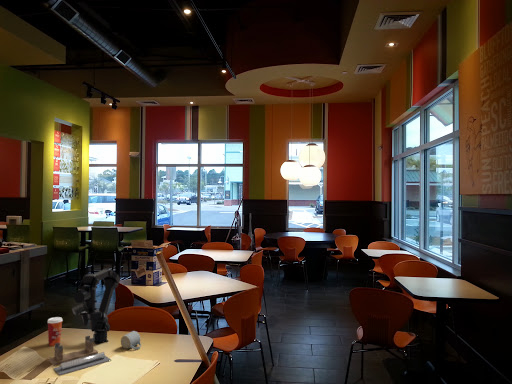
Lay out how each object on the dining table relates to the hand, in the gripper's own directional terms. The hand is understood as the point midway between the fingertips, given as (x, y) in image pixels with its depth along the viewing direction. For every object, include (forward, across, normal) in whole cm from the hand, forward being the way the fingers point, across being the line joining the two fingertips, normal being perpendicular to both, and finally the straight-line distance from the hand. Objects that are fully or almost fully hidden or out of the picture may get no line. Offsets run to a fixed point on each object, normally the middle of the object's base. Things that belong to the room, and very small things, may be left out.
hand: (88, 327), depth 202 cm
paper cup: (+12, -22, -10) cm, 27 cm away
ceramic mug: (+12, +12, +19) cm, 26 cm away
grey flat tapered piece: (+12, +17, -9) cm, 23 cm away
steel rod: (+12, +17, -9) cm, 22 cm away
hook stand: (+12, +5, -9) cm, 16 cm away
